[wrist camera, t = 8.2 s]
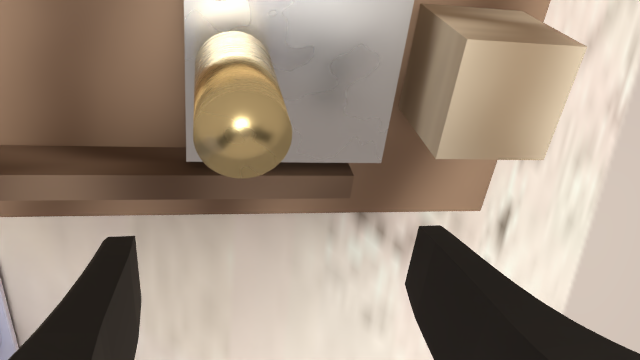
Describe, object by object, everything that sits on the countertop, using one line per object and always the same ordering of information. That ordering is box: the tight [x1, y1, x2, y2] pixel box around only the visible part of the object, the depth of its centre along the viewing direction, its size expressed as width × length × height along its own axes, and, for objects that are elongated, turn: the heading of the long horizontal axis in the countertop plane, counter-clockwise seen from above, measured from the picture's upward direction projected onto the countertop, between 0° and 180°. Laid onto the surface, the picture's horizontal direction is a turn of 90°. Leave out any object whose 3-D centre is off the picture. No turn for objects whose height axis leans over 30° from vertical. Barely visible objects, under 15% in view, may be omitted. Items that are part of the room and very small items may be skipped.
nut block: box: [399, 3, 587, 160], centre depth 19 cm, size 4×4×4 cm
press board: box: [0, 0, 551, 217], centre depth 18 cm, size 22×14×4 cm, turn 83°
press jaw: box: [184, 0, 414, 179], centre depth 16 cm, size 7×7×6 cm
